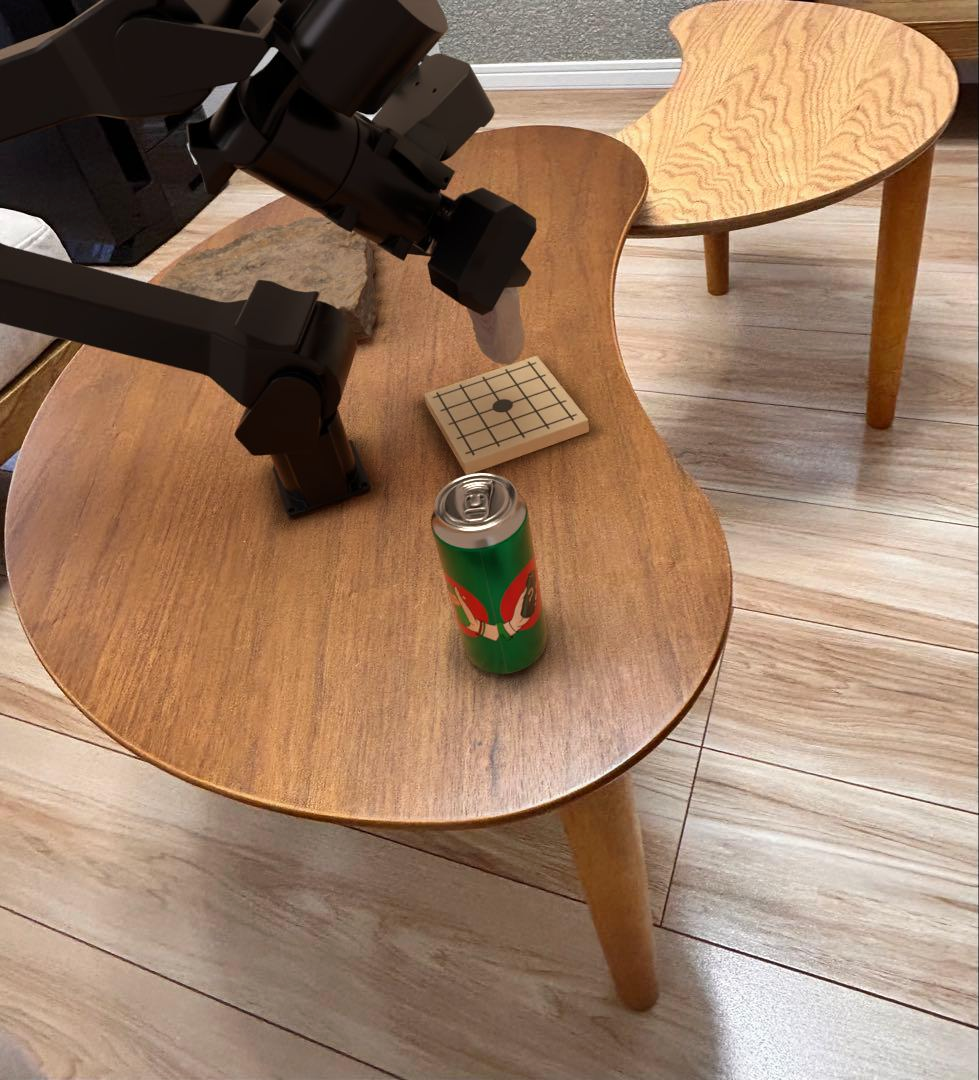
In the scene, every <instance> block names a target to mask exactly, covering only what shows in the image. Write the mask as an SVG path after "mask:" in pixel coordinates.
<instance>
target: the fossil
mask: <svg viewBox="0 0 979 1080" xmlns="http://www.w3.org/2000/svg"><path fill="white" fill-rule="evenodd" d="M466 311H467V312H468V315H469V318H470V319H471V321H472V330H473V331H474V337H475V341H476V343H477V345H478V347H479V350H480V351H481V352H482V354H483V355H484V356H485V357H486V358H488V359H489V360H491V361H493V362H494V363H496V364H500V365H511V364H513V363H516V361H517V360H518V359H519V358H520V357H521V355H522V353H523V351H524V348H525V340H526V336H525V330H524V324H523V318H522V315H521V302H520V293H519V287H512V288H505V289H504V290H503V292H502V294H501V296H500V298H499V300H498V301H497V303H496V305H495V307H494V309H493V310H492V311H491V312H489V313H487V314H485V315H483V316H482V315H480V314H478V313H476V312H474V311H472V310H470V309H469V308H467V307H466Z"/></svg>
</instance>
